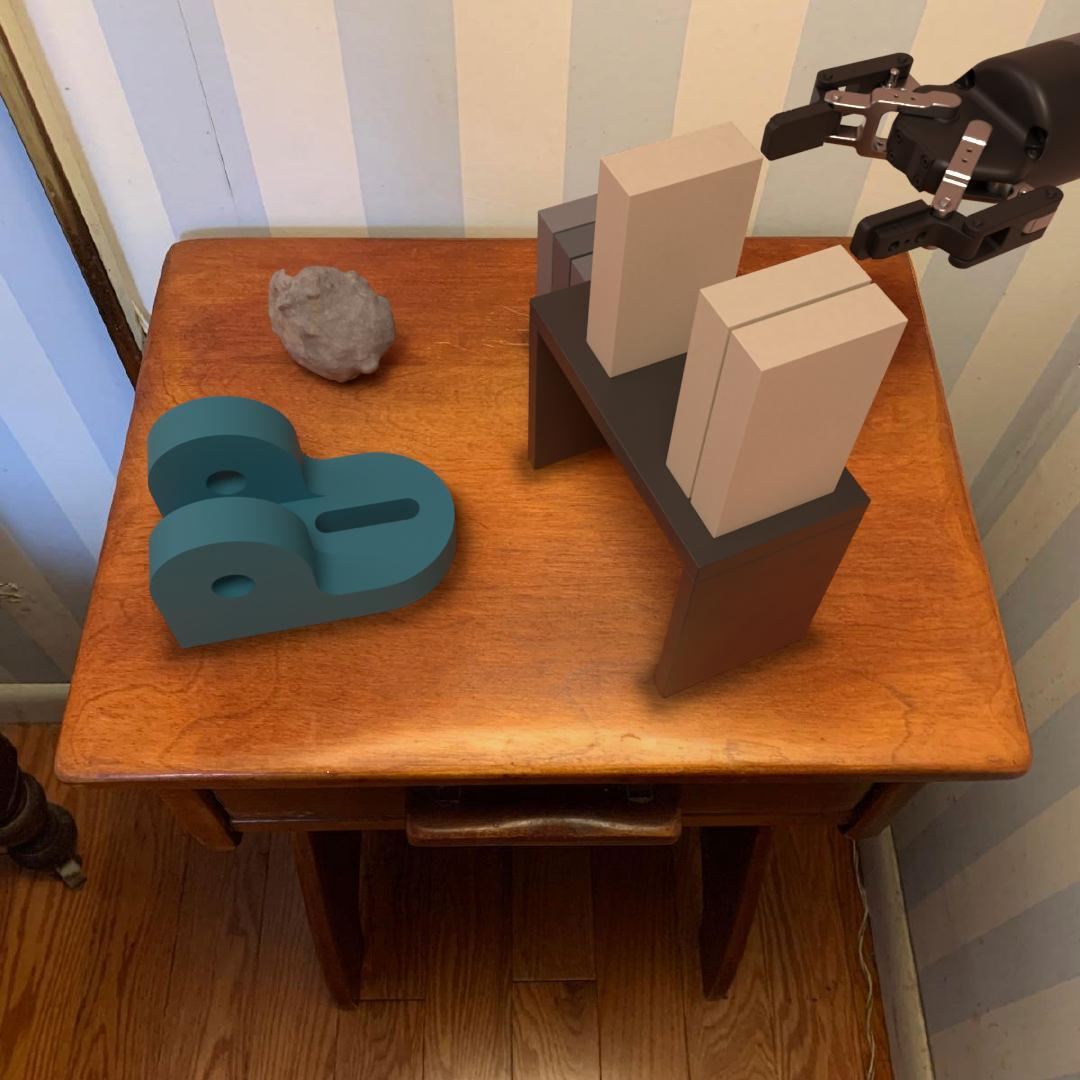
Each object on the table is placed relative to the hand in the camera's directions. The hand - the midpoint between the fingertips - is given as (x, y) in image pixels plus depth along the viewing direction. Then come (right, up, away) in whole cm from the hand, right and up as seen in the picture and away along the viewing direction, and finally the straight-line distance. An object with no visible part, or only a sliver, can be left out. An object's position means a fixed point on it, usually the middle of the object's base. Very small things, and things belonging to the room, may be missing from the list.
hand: (809, 189), depth 53 cm
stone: (-29, -5, +24) cm, 38 cm away
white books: (-3, -15, 0) cm, 15 cm away
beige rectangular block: (-7, -7, +5) cm, 11 cm away
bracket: (-28, -19, +15) cm, 37 cm away
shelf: (-6, -18, +15) cm, 25 cm away
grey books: (-9, -4, +24) cm, 27 cm away
